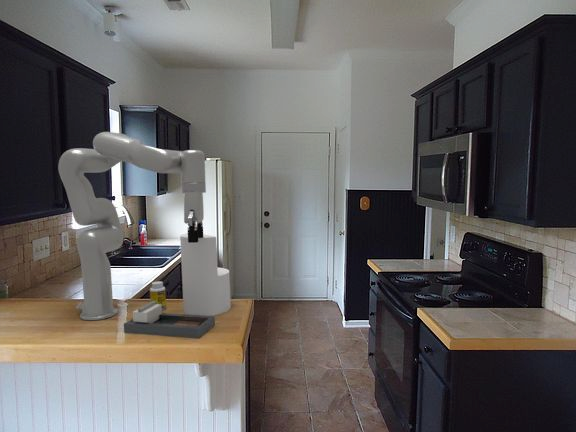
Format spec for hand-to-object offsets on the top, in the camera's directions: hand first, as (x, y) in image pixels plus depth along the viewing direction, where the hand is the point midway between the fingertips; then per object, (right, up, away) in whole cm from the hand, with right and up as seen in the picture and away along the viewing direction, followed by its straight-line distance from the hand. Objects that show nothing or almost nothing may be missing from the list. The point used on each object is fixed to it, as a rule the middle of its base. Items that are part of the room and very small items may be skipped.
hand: (196, 240), depth 142 cm
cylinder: (0, -27, +19) cm, 33 cm away
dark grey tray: (-8, -29, -2) cm, 30 cm away
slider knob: (-16, -27, 0) cm, 31 cm away
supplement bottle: (-18, -27, +19) cm, 38 cm away
